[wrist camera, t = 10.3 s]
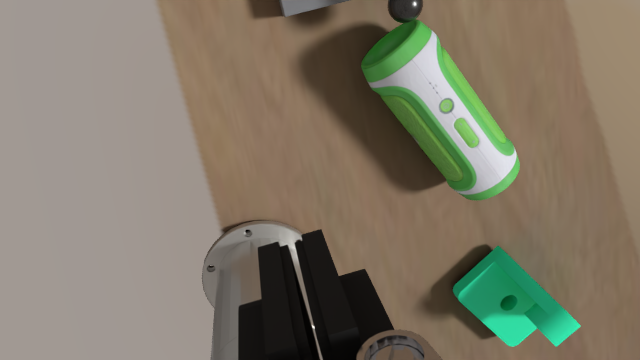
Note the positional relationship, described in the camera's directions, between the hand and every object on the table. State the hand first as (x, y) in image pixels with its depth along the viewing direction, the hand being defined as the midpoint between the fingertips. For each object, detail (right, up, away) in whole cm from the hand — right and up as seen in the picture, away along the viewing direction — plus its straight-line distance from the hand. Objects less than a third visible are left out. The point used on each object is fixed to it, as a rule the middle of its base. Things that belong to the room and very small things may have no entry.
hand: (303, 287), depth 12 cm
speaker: (+11, +10, +37) cm, 40 cm away
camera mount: (+22, -11, +46) cm, 52 cm away
